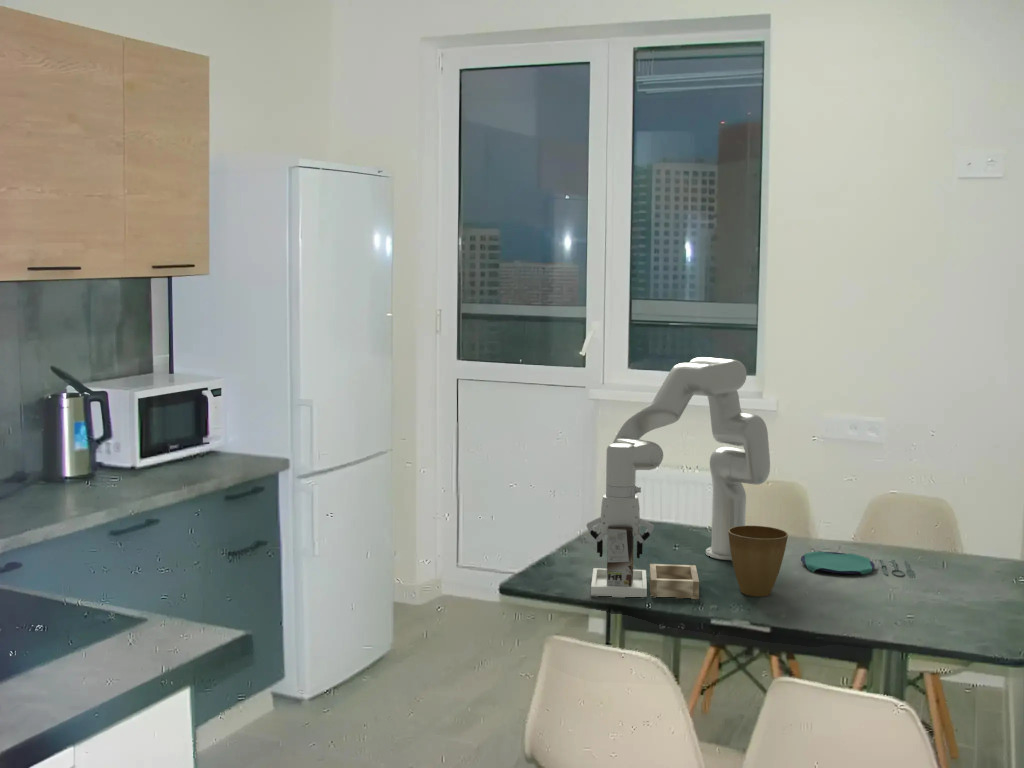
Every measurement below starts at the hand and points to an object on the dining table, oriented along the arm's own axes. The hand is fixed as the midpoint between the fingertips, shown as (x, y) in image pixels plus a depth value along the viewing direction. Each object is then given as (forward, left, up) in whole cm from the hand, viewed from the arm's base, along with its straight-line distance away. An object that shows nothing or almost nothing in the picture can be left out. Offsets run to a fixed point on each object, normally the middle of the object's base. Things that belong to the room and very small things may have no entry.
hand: (619, 556), depth 278 cm
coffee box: (0, 0, -8) cm, 8 cm away
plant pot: (-35, 0, -8) cm, 36 cm away
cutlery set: (-65, -27, -9) cm, 71 cm away
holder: (-14, 0, -8) cm, 16 cm away
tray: (0, 0, -8) cm, 8 cm away
